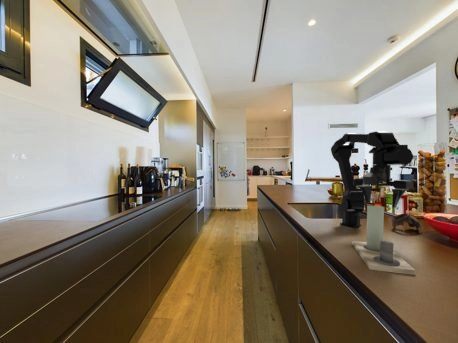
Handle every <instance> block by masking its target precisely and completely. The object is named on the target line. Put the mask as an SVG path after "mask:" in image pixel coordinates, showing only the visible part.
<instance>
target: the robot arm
mask: <svg viewBox="0 0 458 343" xmlns="http://www.w3.org/2000/svg"><path fill="white" fill-rule="evenodd" d="M355 143H361V144H367V145H368V146H370V147H372V148H371V149H370V150H369V151H368V154H372V167H370V168H369V169H370V170H369V171H368V172H367V173H365V174H364V175H362V177H354V173H353V169H352V165H351V161H350V159H351V156H352V152H353V150H354V149H355ZM408 146H409V145H408V144H400V142H399V141H398V140H397V138H396V136H395V135H394V133H393V132H391V131H373V132H369V133H353V132H350V133H349V132H347V133H343V135H342V137H340V138H339V139H337V140H336V141H335V142H334V143H333V145H332V146H331V147H330V152H331V154H332V155H331V156H332V158H333V159H334V160H335V161H336V162H337V163H338V164H337V165H338V168H339V172H340V176H341V182H342V184H343V189H344V192H343V194H342V202H340V204H339V205H338V211H340V212H342V213H341V215H342V216H341V217H342V218H341V219H342V220H341V221H342V222H340V223H339V224H340V225H342V226H346V227H350V228H356V227H357V228H358V227H360V226H362V224H361V216H360V213H363V212H364V209H365V206H366V204H367V205H370V204H371V198H372V188H373V187H372V186H384V187H393V188H391V191H392V202H391V204H392V208H393V209H395V208H396V207H397V205H398V203H399V202H400V200H401V198H402V196H404V194H405V193H406V192H408V191H409V190H410V189H411V190H413V189H414V182H413V181H412V180H411V179H410V180H408V179H407V180H406V179H394V180H393V178H392V177H391V171H393V167H391V166H393V165H394V166H395V165H396V166H401V165H402V166H403V165H404V166H406V165H407V166H408V165H409V164H411V163H412V161H413V159H414V154H413V152H412V150H411V149H410V148H408ZM358 188H359V190H361V191H359V190H358Z"/></svg>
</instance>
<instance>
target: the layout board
mask: <svg viewBox="0 0 458 343" xmlns="http://www.w3.org/2000/svg"><path fill="white" fill-rule="evenodd" d="M351 243H352V245H353V247H354V250H356V252H357V253H358V255H359V256H360V258H361V259H362V261H364V263H365V264H366V266H367V267H368V269H369V270H371V271H378V272H390V273H395V274H397V273H398V274H404V275H405V274H406V275H414V276H415V275H416V269H415V268H413V266H411V265H410V264H409V263H408V262H407V261H406V260H404V259H403V257H401V256H400V255H399V254H398V253H397V252H395V251H394V243H393V242H392V241H389V240H383V241H380V250H372V249H369V248H367V247H366V241H360V240H359V241H358V240H352V242H351Z"/></svg>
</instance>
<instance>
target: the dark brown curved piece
mask: <svg viewBox="0 0 458 343" xmlns="http://www.w3.org/2000/svg"><path fill="white" fill-rule="evenodd" d="M390 221H391V223H392V224H391V225H392V227H393V228H394V229H396V228H397V227H399V226H402V227H404V225H405V223H406V224H408V227H410V228H415V229H416V231H417V232H418V234H421V233H423V230H422V226H421V224H420V221H419V220H418V219H417V217H416V216H415V215H414V214H410V212H405V213H404V212H403V213H400V214H399V215H398V214H397V215H396V216H394V217H393V218H391V220H390Z"/></svg>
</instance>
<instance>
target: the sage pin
mask: <svg viewBox="0 0 458 343" xmlns="http://www.w3.org/2000/svg"><path fill="white" fill-rule="evenodd" d="M366 207H367V208H366V241H365V242H366V247H367V248H369V249H372V250H380V241H384V219H385V218H384V217H385V216H384V215H385V213H384V212H385V208H384V206H381V205H380V206H379V205H367V206H366Z"/></svg>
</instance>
